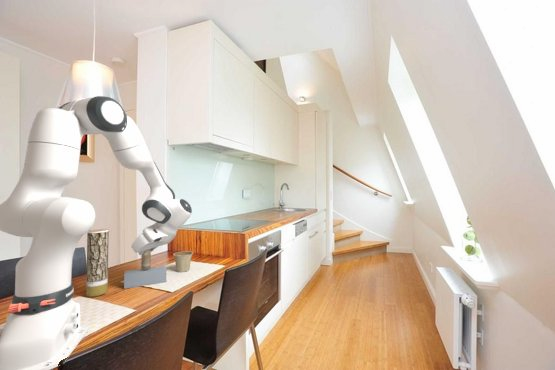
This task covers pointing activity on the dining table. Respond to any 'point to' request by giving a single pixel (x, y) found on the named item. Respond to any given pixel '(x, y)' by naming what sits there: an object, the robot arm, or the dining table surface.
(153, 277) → the grey rectangular block
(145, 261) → the dowel
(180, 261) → the flower pot
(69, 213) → the robot arm
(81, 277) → the dining table surface
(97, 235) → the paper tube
